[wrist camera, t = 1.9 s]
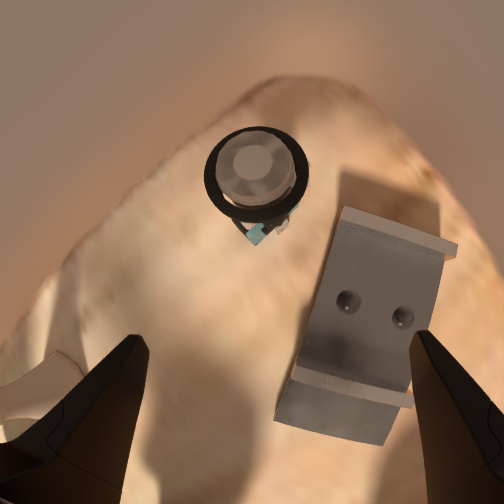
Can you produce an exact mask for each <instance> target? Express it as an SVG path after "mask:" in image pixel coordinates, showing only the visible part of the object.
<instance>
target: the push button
mask: <svg viewBox="0 0 504 504" xmlns="http://www.w3.org/2000/svg"><path fill="white" fill-rule="evenodd" d="M294 171H295V172H296V176H297V177H296V180H295V181H293V182H292V180H293V175H294ZM308 177H309V167H308V161H307V158H306V155H305V153H304V151H303V149H302V148H301V146H300V145H299V144H298V143H297V142H296V141H295V140H294V139H293V138H292V137H291V136H289V135H288V134H286V133H284V132H282V131H280V130H277V129H274V128H270V127H262V126H256V127H248V128H244V129H240V130H238V131H235V132H233V133H231V134H229V135H228V136H226V137H225V138H224V139H222V140H221V141H220V142H219V143H218V144H217V145H216V146H215V147H214V149H213V150H212V152H211V153H210V155H209V157H208V159H207V162H206V165H205V170H204V183H205V188H206V191H207V194H208V196H209V198H210V199H211V201H212V202H213V204H214V205H215V206H216V207H217V208H218V209H219V210H220V211H221V212H222V213H223V214H225V215H226V216H228V217H230V218H232V221H233V222H234V224H235V225H236V226H237V227H238V229H239V230H240V231H241V232H242V233H243V234H244V235H245V236H246V237H247V238H248V239H249V240H250V241H251V242H252V244H253V245H254V246H256V245H257V244H259V243H260V242H261V241H262V239H263V238H264V237H265V236H267V235H268V234H269V233H270V232H271V231H272V230H273V229H275V230H276V231H277V235H279V234H281V233H282V232H283V231H284V230H285V229H286V228H287V227H288V226H289V225H288V220H287V219H286V218H287V216H288V215H289V214H291V213H292V212H293V211H294V210H295V209H296V208H297V207H298V206H299V201H300V200H301V198H302V197H303V195H304V193H305V190H306V188H307V187H308V186H309V183H308V182H309V179H308ZM222 192H223V193H224V194H225V195H226V196H227V197H229V198H230V199H231V200H232V201H233V203H234V204H235V206H234V205H233V204H231V203H229V202H228V201H227V200H226V199H225V198H224V196H223V193H222Z"/></svg>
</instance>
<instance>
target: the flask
mask: <svg viewBox="0 0 504 504" xmlns="http://www.w3.org/2000/svg"><path fill="white" fill-rule="evenodd" d="M83 378H84V377H83V375H82V373H81V371H80V369H79V367H78V365H77V364H76V363H74V362H73V361H71V360H70V359H68V358H67V357H66V356H64V355H63V354H61V353H60V352H59V351H55V352H54V353H53V354H51V355H50V356H49V357H48V358H46V359H45V360H44V361H43V362H41V363H40V364H39V365H38V366H36V367H35V368H34V369H32V370H31V371H30V372H28V373H27V374H26V375H24V376H23V377H22V378H20V379H19V380H17V381H15V382H13V383H11V384H9V385H7V386H4V387H0V425H1V424H3V423H4V422H5V421H6V420H9V419H15V418H32V419H41V418H42V417H43V416H44V415H45V414H47V413H48V412H49V411H50V410H51V409H52V408H53V407H54V406H55V405H56V404H57V403H58V402H59V401H60V400H61V399H63V398H64V396H65V395H67V394H68V393H69V392H70V391H71V390H72V389H73V388H74V387H75V386H76V385H77V384H78V383H79V382H80V381H81V380H82V379H83Z"/></svg>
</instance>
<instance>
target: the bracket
mask: <svg viewBox="0 0 504 504" xmlns="http://www.w3.org/2000/svg"><path fill="white" fill-rule="evenodd" d="M457 248H458V244H456V243H453V242H451V241H448V240H445V239H443V238H440V237H437V236H434V235H432V234H429V233H426V232H423V231H421V230H418V229H415V228H412V227H409V226H406V225H403V224H401V223H398V222H395V221H392V220H389V219H386V218H383V217H380V216H377V215H374V214H370V213H367V212H364V211H361V210H358V209H355V208H351V207H348V206H344V208H343V210H342V212H341V214H340V216H339V218H338V222H337V226H336V230H335V233H334V237H333V241H332V244H331V248H330V251H329V255H328V258H327V262H326V265H325V269H324V272H323V276H322V279H321V282H320V285H319V289H318V292H317V295H316V298H315V302H314V305H313V308H312V311H311V314H310V317H309V320H308V323H307V326H306V329H305V332H304V335H303V338H302V341H301V344H300V347H299V350H298V353H297V356H296V358H295V361H294V364H293V367H292V370H291V372H290V375H289V378H288V381H287V383H286V386H285V389H284V391H283V394H282V397H281V399H280V402H279V404H278V407H277V410H276V412H275V415H274V419H273V421H277V422H280V423H283V424H287V425H290V426H294V427H297V428H301V429H305V430H309V431H312V432H316V433H320V434H325V435H329V436H333V437H338V438H342V439H347V440H352V441H357V442H362V443H367V444H373V445H379V446H383V444H384V442H385V440H386V438H387V436H388V434H389V432H390V430H391V428H392V425H393V423H394V421H395V419H396V416H397V414H398V412H399V409H400V407H404V408H410V409H412V407H413V405H414V402H415V401H414V395H413V392H411V391H410V390H409V389H408V387H409V385H410V382H411V379H412V376H411V366H410V358H409V346H410V344H411V341H412V339H413V336H414V334H415V332H416V331H418V330H428V327H429V324H430V320H431V316H432V313H433V309H434V305H435V301H436V297H437V293H438V288H439V284H440V279H441V275H442V270H443V265H444V261H447V260H450V259H453V258H456V254H457Z"/></svg>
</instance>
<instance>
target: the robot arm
mask: <svg viewBox="0 0 504 504" xmlns="http://www.w3.org/2000/svg"><path fill="white" fill-rule="evenodd" d="M409 358H410V366H411V376H412V387H413V395H414V401H415V406H416V412H417V417H418V423H419V429H420V436H421V443H422V450H423V457H424V466H425V475H426V486H427V497H428V498H427V500H428V504H504V414H503V413H502V412H501V411H500V410H499V408H498V407H497V406H496V405H495V404H494V403H493V401H491V399H490V398H489V397H488V396H487V394H486V393H485V392H484V391H483V390H482V388H481V387H480V386H479V385H478V384H477V383H476V382H475V380H474V379H473V378H472V377H471V376H470V375H469V374H468V372H467V371H466V370H465V369H464V368H463V367H462V366H461V365H460V364H459V362H458V361H457V360H456V359H455V358H454V357H453V356H452V355H451V354H450V353H449V351H448V350H447V349H446V348H445V347H444V346H443V345H442V344H441V343H440V342H439V341H438V340H437V339H436V338H435V337H434V335H433V334H432V333H431V332H430V331H428V330H418V331H416V332H415V334H414V336H413V339H412V341H411V344H410V346H409ZM148 361H149V349H148V347H147V345H146V343H145V341H144V339H143V337H142V336H141V335H139V334H129V335H128V336H127V337H126V338H125V339H124V340H123V341H121V342H120V343H119V344H118V345H117V346H116V347H115V348H114V349H113V350H112V351H111V352H110V353H109V354H108V355H107V356H106V357H105V358H104V359H103V360H102V361H101V362H99V363H98V364H97V365H96V366H95V367H94V368H93V369H92V370H91V371H90V372H89V373H88V374H87V375H86V376H85V377H84V378H83V379H82V380H81V381H80V382H79V383H78V384H77V385H76V386H75V387H74V388H73V389H72V390H71V391H70V392H69V393H68V394H67V395H65V396H64V398H63V399H61V400H60V401H59V402H58V403H57V404H56V405H55V406H54V407H53V408H52V409H51V410H50V411H49V412H48V413H47V414H45V415H44V416H43V417H42V418H41V419H40V420H38V421H37V422H36V423H35V424H34V425H32V426H31V427H30V428H29V429H27V430H26V431H25V432H24V433H23V434H21V435H20V436H19V437H17V438H16V439H14V440H12V441H9V442H6V443H0V504H120V499H121V494H122V488H123V483H124V478H125V473H126V468H127V463H128V458H129V454H130V449H131V445H132V440H133V436H134V431H135V427H136V423H137V419H138V415H139V411H140V407H141V403H142V399H143V394H144V389H145V382H146V375H147V368H148Z"/></svg>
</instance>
